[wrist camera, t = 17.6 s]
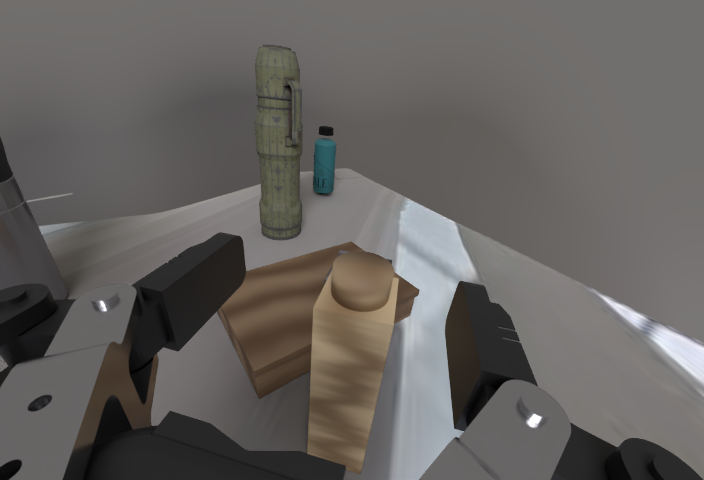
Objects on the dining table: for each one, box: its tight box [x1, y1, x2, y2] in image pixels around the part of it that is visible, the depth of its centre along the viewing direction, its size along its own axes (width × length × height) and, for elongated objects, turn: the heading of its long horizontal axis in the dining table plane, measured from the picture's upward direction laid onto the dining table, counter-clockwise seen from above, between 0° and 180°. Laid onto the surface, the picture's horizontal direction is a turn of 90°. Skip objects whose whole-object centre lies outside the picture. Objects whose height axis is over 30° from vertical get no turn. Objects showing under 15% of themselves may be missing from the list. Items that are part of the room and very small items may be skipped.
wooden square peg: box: [307, 251, 399, 474], centre depth 23 cm, size 5×5×20 cm
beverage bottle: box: [313, 126, 336, 193], centre depth 84 cm, size 6×7×20 cm
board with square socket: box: [217, 242, 419, 399], centre depth 41 cm, size 17×25×8 cm
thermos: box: [255, 45, 302, 240], centre depth 57 cm, size 9×12×35 cm
